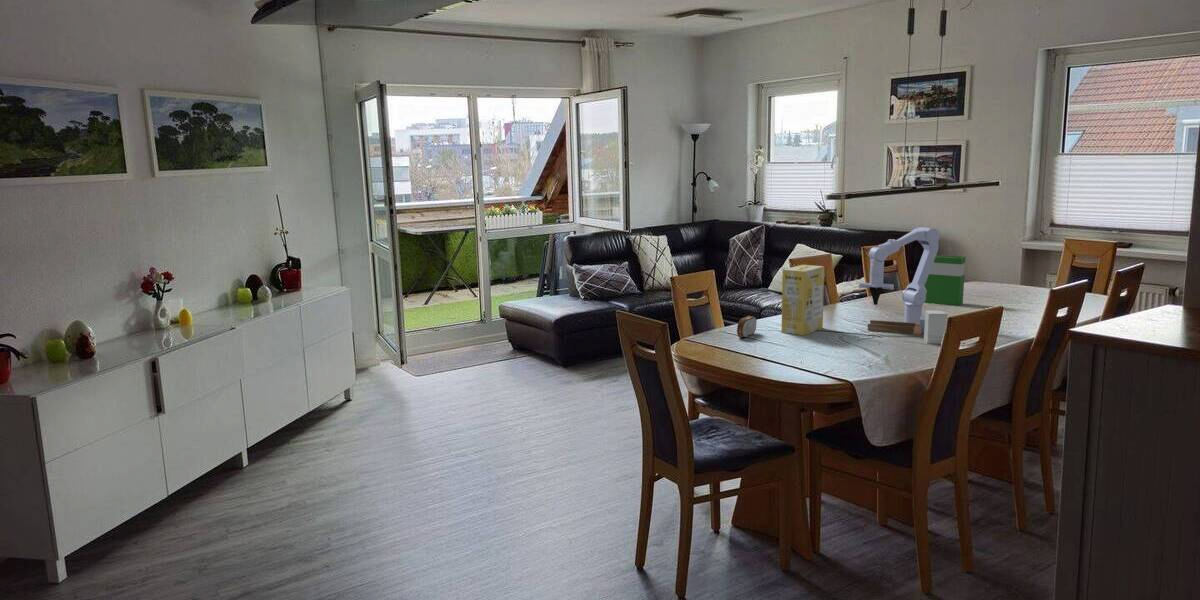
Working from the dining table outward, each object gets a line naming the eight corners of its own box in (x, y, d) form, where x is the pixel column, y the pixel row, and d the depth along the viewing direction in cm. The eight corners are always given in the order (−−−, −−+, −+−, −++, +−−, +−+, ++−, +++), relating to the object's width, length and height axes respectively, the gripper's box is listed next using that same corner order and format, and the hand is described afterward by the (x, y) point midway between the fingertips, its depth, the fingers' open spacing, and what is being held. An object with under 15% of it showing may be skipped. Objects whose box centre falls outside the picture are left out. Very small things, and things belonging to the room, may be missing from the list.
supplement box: (946, 344, 330) (947, 313, 328) (926, 343, 332) (928, 313, 329) (942, 339, 337) (943, 310, 335) (923, 339, 339) (924, 309, 337)
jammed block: (920, 330, 354) (920, 316, 353) (934, 331, 352) (935, 317, 351) (919, 333, 349) (919, 319, 348) (934, 334, 346) (934, 320, 345)
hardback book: (922, 302, 416) (924, 256, 411) (926, 300, 421) (929, 254, 417) (958, 306, 405) (961, 258, 400) (962, 303, 411) (965, 256, 406)
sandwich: (751, 332, 360) (751, 313, 358) (757, 333, 358) (757, 314, 356) (736, 339, 348) (736, 319, 346) (742, 340, 346) (743, 320, 344)
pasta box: (801, 324, 371) (802, 264, 366) (822, 327, 365) (824, 266, 359) (781, 332, 358) (782, 269, 353) (803, 335, 351) (804, 271, 346)
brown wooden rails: (870, 326, 365) (870, 320, 364) (922, 330, 355) (922, 323, 355) (867, 330, 356) (867, 324, 356) (921, 334, 347) (921, 327, 347)
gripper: (858, 274, 358) (857, 305, 361) (893, 276, 352) (891, 307, 355) (860, 272, 365) (859, 302, 367) (894, 274, 358) (893, 304, 361)
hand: (875, 304), depth 361 cm, fingers closed
